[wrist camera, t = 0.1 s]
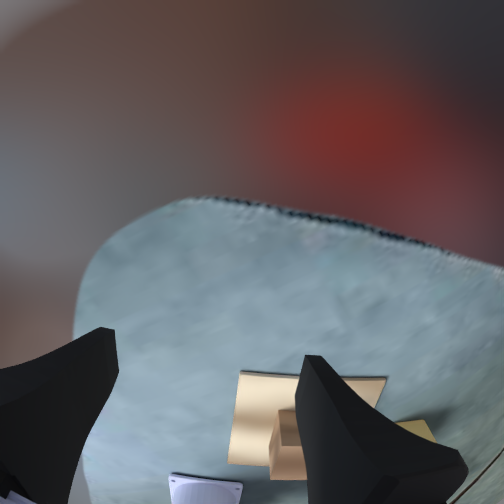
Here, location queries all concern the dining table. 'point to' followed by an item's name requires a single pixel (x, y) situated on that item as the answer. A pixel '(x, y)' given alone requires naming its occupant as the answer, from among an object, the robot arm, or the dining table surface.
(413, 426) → the ochre block
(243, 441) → the build board
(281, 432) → the walnut block
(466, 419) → the dining table surface
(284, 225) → the dining table surface
